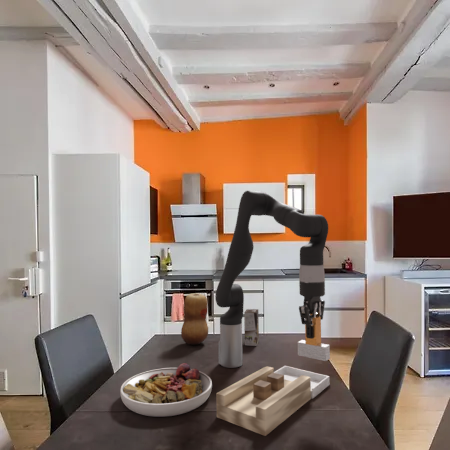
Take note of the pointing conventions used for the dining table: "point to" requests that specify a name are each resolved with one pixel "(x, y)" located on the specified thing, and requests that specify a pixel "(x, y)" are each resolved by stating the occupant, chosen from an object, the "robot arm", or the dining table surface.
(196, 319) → the butternut squash
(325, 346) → the scraper
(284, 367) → the tray
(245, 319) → the coffee box
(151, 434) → the dining table surface
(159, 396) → the bowl
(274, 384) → the brown cube
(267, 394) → the brown wooden cube
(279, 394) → the channel board
